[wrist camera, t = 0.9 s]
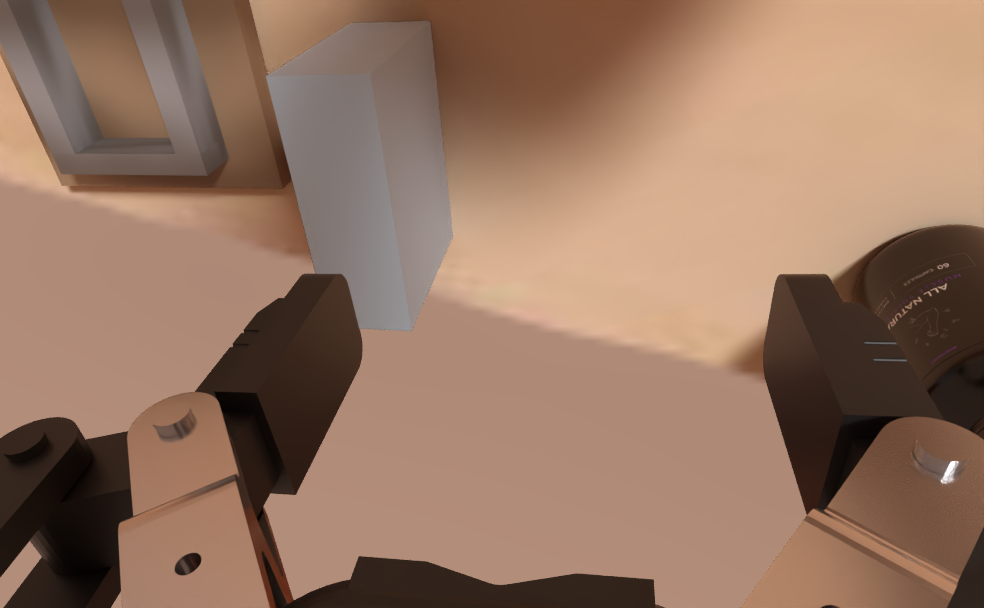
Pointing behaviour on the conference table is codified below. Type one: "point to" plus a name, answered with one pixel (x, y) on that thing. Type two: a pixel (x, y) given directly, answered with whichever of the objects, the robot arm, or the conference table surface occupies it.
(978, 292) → the supplement bottle
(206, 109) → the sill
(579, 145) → the conference table surface
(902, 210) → the conference table surface
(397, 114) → the gray rectangular block
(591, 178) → the conference table surface
